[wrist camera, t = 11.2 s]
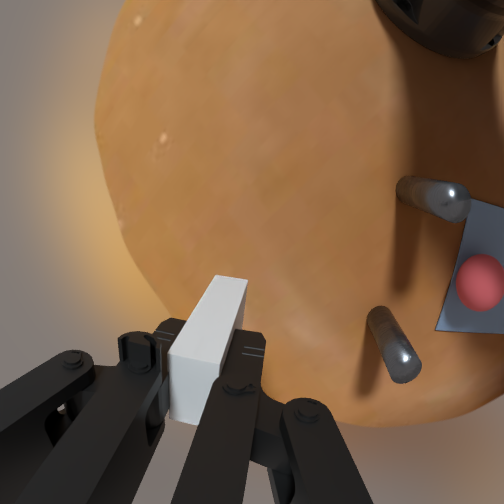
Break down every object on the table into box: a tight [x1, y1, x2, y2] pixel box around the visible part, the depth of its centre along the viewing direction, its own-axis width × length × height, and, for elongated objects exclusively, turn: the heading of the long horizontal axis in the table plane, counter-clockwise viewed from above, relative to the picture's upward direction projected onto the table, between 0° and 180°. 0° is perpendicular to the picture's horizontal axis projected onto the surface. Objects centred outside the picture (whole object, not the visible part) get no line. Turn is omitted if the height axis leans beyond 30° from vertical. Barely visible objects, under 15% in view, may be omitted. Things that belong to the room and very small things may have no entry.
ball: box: [456, 254, 504, 312], centre depth 25 cm, size 6×6×6 cm
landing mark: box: [435, 199, 504, 334], centre depth 27 cm, size 14×14×1 cm
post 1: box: [367, 306, 422, 384], centre depth 25 cm, size 3×3×9 cm
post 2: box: [396, 176, 471, 223], centre depth 22 cm, size 3×3×9 cm
